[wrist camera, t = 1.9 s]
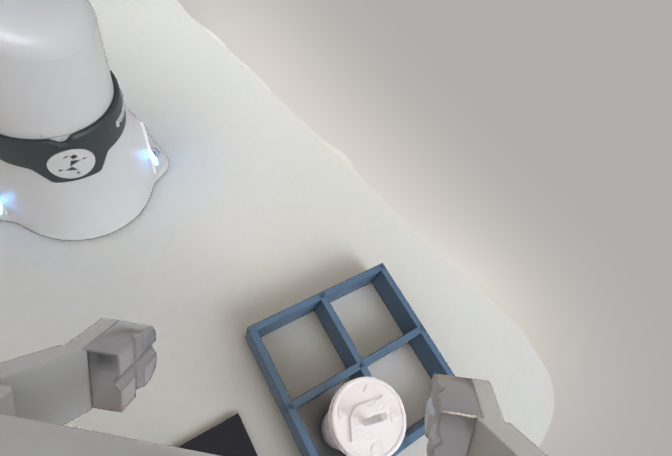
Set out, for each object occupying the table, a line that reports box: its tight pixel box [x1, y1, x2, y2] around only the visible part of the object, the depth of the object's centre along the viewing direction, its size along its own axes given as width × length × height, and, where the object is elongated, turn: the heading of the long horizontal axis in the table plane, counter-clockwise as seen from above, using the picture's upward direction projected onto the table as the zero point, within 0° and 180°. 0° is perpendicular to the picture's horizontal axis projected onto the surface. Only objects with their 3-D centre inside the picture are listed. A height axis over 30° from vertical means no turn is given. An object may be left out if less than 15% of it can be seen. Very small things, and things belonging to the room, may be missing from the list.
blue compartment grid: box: [245, 263, 455, 456], centre depth 44 cm, size 17×17×4 cm
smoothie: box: [321, 377, 406, 456], centre depth 36 cm, size 6×6×14 cm
